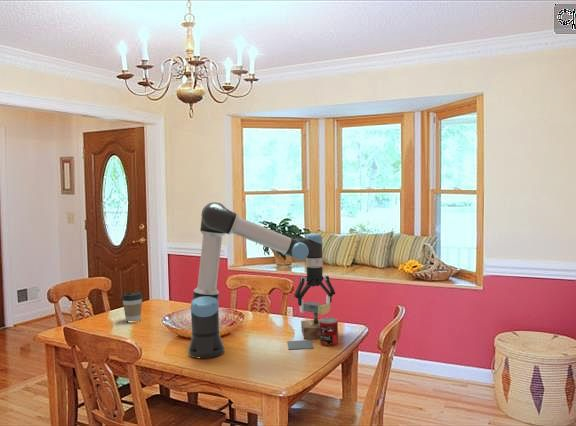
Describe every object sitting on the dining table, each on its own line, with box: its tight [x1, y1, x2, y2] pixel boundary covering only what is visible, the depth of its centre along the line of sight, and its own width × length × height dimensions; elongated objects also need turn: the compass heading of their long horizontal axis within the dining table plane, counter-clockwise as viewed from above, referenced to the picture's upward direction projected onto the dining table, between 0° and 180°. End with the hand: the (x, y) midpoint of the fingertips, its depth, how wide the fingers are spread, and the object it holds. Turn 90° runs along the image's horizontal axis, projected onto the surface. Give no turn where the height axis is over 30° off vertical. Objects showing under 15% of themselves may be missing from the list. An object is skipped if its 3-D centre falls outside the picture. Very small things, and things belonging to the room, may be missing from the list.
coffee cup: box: [121, 291, 144, 322], centre depth 272 cm, size 11×11×15 cm
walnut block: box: [300, 319, 320, 340], centre depth 239 cm, size 13×13×5 cm
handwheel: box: [303, 300, 330, 323], centre depth 239 cm, size 12×5×9 cm, turn 46°
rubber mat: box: [286, 339, 315, 351], centre depth 224 cm, size 11×11×1 cm
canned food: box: [319, 317, 339, 347], centre depth 224 cm, size 8×8×11 cm
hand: (315, 310), depth 238 cm, fingers open, 13 cm apart
